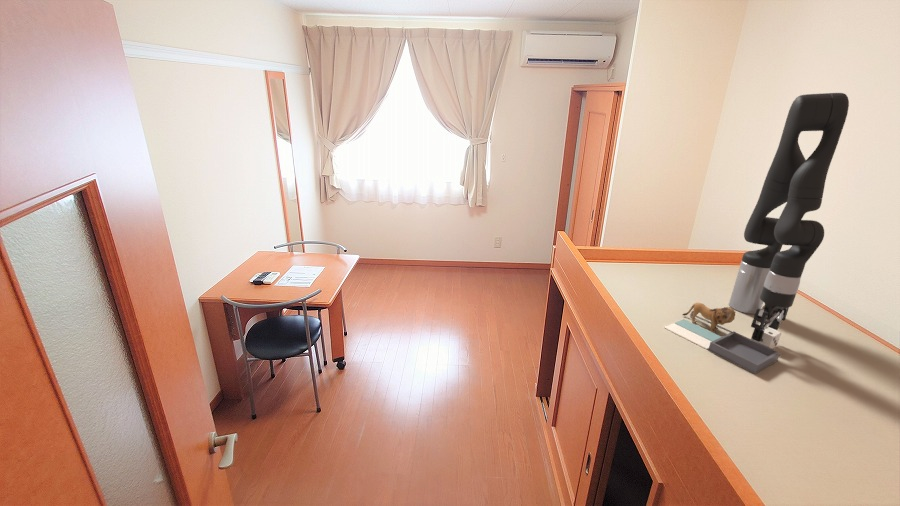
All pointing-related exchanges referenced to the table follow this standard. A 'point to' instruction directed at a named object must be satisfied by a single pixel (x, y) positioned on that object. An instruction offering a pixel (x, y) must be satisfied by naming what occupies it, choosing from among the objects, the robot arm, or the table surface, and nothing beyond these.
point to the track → (694, 332)
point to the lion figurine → (712, 315)
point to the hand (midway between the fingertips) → (763, 336)
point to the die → (770, 337)
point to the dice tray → (744, 352)
